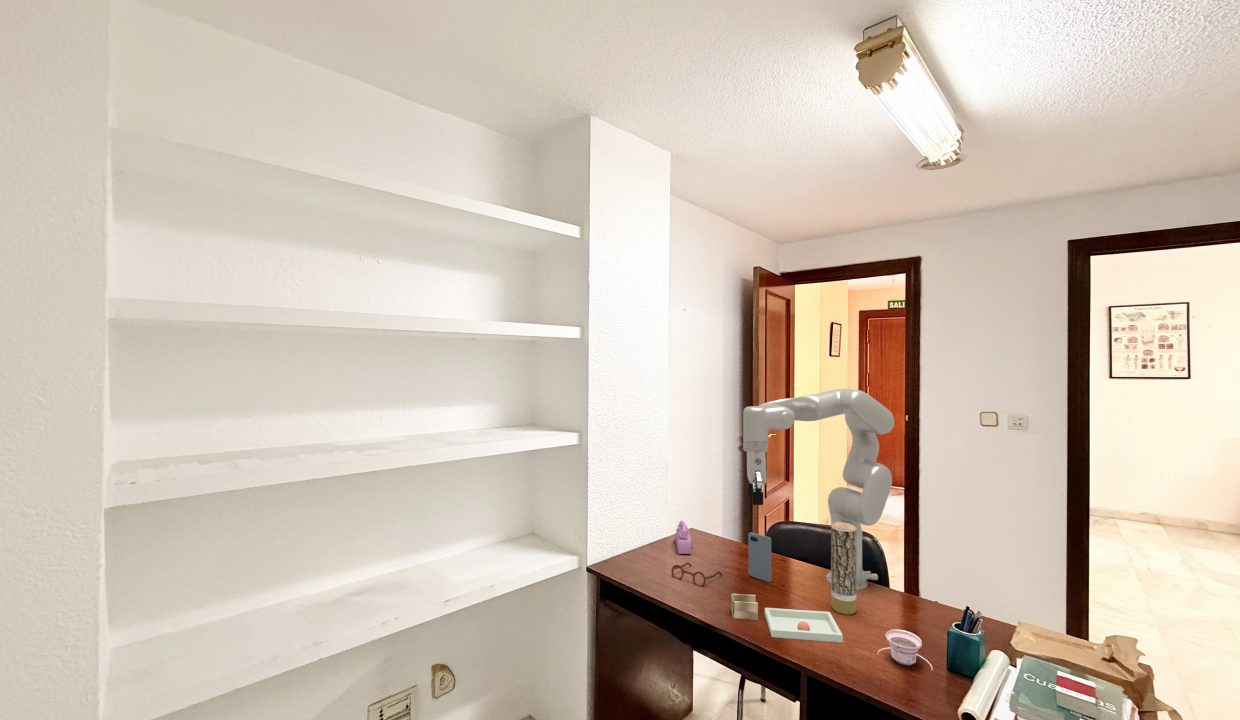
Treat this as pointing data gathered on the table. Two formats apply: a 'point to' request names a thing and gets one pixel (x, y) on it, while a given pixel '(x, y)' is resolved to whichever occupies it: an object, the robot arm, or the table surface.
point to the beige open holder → (744, 606)
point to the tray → (820, 622)
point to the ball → (803, 626)
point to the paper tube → (843, 568)
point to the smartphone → (759, 556)
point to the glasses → (692, 574)
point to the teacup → (904, 646)
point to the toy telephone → (683, 539)
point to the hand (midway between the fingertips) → (755, 500)
